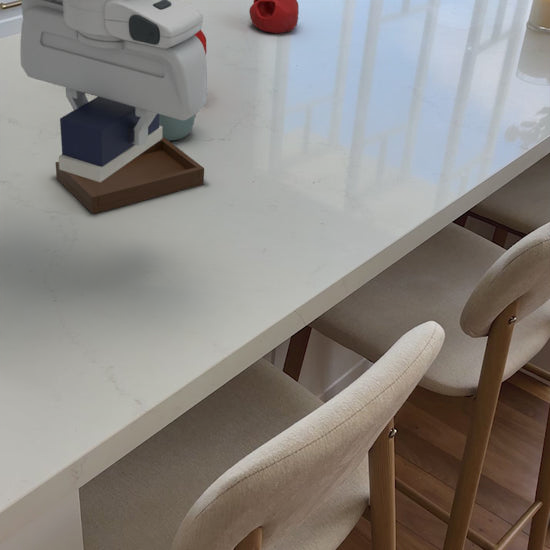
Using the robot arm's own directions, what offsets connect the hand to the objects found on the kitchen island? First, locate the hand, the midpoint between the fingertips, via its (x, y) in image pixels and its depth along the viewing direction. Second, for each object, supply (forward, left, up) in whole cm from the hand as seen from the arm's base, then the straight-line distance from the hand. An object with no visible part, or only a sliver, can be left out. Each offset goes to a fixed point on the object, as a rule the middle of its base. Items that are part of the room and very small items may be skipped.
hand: (112, 135), depth 93 cm
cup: (+24, +28, -17) cm, 40 cm away
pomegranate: (+67, +60, -17) cm, 91 cm away
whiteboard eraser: (0, 0, -2) cm, 2 cm away
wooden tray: (+12, +18, -17) cm, 27 cm away
